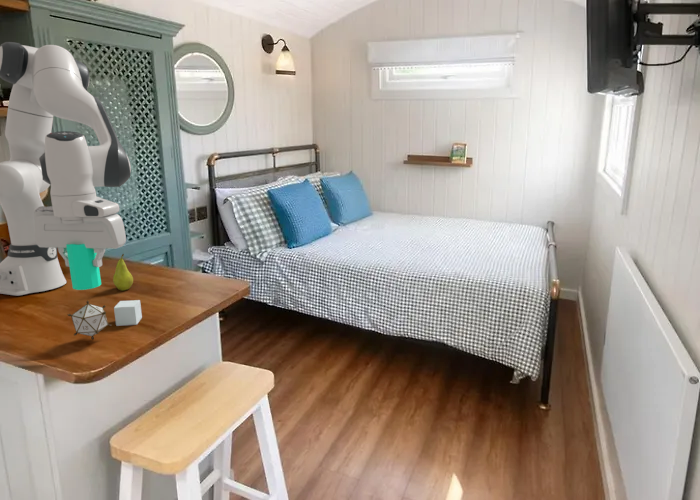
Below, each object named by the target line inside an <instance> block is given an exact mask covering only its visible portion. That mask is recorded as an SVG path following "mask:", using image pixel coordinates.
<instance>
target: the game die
mask: <svg viewBox="0 0 700 500" xmlns="http://www.w3.org/2000/svg"><path fill="white" fill-rule="evenodd" d="M85 302H86V304H85V305H83V306H82V307H81V308H79V309H78V310H76V311H75V312H73V313H72V314H71V313H68V314H67V317H71V320H72V324H73V326H74V330H75V333H74V334H73V337H75V336H77V335H84V336H88V337H91V339H92V340H94V339H95V337H94V336H95V335H99V333H100V331H102V330H104V329H105V328H106V327H108V326H109V327H112V325H113V324H111V323H109V322H108V318H107V315H106V314H107V311H105V308H106V305H102V306H99V305H94V304H91V303H90V301H89V300H86V301H85Z"/></svg>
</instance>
